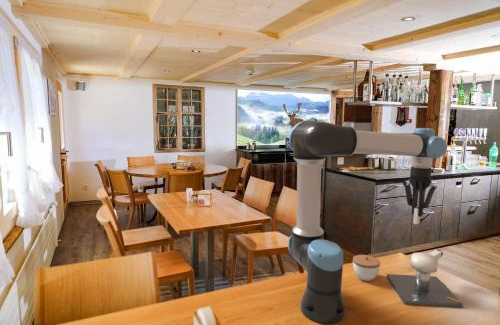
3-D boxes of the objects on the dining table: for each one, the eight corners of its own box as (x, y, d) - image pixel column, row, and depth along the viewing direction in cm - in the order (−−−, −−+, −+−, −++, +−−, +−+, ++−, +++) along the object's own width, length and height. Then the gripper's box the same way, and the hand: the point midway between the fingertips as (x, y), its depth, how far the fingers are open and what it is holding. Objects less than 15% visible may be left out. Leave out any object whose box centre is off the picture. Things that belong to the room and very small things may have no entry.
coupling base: (404, 304, 121) (406, 279, 120) (386, 277, 141) (388, 255, 139) (462, 307, 119) (465, 282, 118) (436, 280, 139) (438, 258, 138)
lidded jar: (347, 271, 145) (349, 251, 144) (371, 271, 146) (372, 250, 145) (358, 284, 135) (359, 262, 133) (383, 283, 136) (385, 261, 134)
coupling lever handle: (431, 275, 122) (432, 264, 122) (406, 266, 129) (407, 256, 129) (451, 260, 135) (452, 251, 135) (428, 253, 142) (429, 244, 141)
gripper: (400, 165, 137) (396, 221, 141) (434, 169, 128) (429, 229, 131) (409, 163, 142) (404, 217, 146) (442, 167, 132) (436, 225, 136)
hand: (416, 223), depth 138 cm, fingers closed
